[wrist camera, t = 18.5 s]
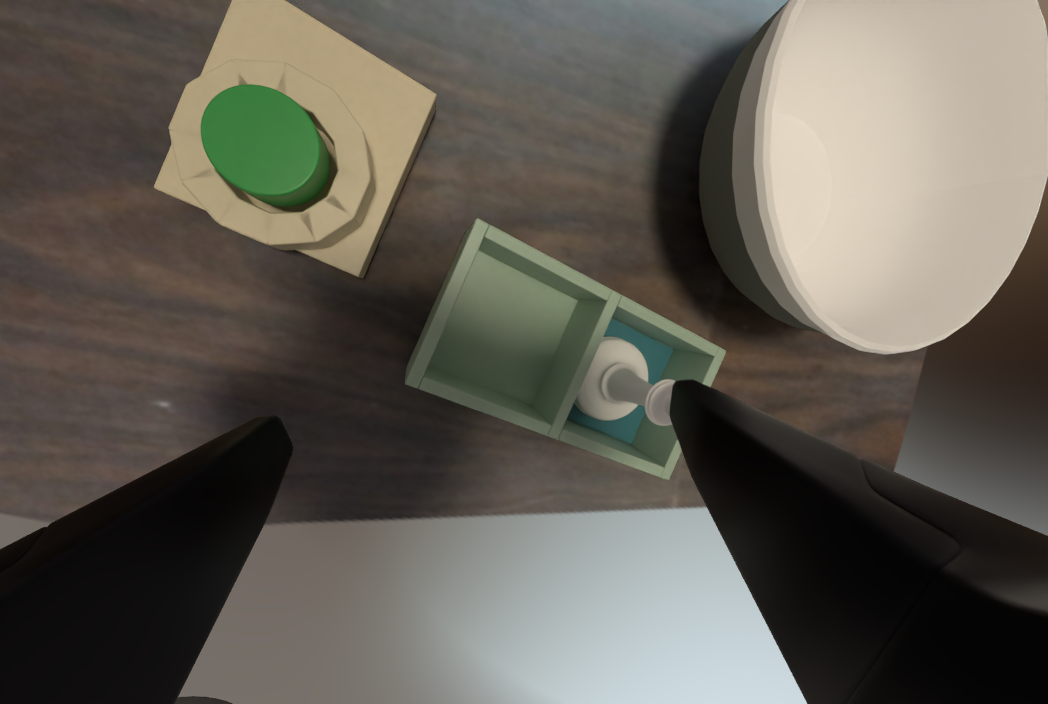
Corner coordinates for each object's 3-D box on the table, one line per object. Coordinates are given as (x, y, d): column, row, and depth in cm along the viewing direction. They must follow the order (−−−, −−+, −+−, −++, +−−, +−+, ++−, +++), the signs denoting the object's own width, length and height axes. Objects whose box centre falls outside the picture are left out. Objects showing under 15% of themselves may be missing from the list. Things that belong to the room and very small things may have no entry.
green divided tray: (677, 342, 24) (727, 350, 21) (628, 451, 25) (668, 480, 21) (464, 232, 20) (477, 217, 16) (406, 367, 20) (404, 384, 16)
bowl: (654, -4, 21) (797, -183, 13) (890, 68, 26) (1095, -30, 18) (627, 335, 23) (735, 354, 16) (848, 340, 29) (1013, 356, 21)
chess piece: (619, 319, 22) (772, 336, 13) (656, 386, 24) (820, 446, 14) (552, 369, 21) (661, 425, 12) (593, 434, 23) (722, 533, 13)
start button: (309, 224, 15) (296, 214, 14) (208, 177, 14) (181, 161, 13) (345, 141, 15) (336, 121, 14) (246, 87, 14) (223, 59, 12)
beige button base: (361, 283, 19) (349, 280, 16) (175, 203, 17) (115, 179, 13) (435, 111, 19) (439, 71, 15) (259, 5, 16) (219, -70, 13)
